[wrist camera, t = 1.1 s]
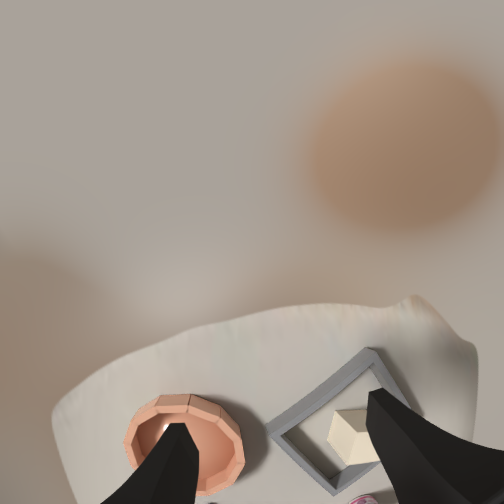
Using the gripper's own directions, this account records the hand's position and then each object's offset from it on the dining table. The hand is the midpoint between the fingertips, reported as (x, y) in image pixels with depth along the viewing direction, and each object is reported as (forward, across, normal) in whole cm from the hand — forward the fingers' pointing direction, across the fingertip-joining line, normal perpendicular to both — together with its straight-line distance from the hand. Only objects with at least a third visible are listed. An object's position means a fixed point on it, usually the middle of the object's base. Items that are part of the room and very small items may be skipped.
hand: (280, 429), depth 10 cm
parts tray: (+14, -7, +18) cm, 24 cm away
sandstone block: (+14, -7, +18) cm, 24 cm away
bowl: (+13, +10, +16) cm, 23 cm away
